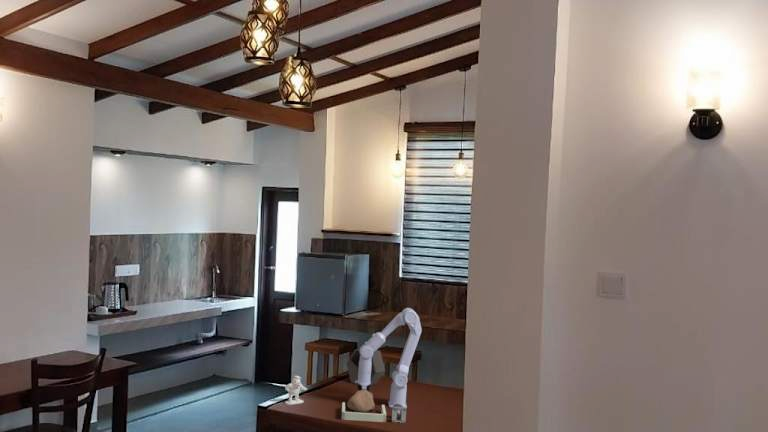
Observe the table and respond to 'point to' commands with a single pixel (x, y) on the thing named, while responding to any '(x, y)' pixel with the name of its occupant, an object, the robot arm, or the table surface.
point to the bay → (364, 415)
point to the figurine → (294, 391)
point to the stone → (361, 401)
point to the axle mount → (403, 414)
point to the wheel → (398, 410)
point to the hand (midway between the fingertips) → (362, 401)
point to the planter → (376, 367)
